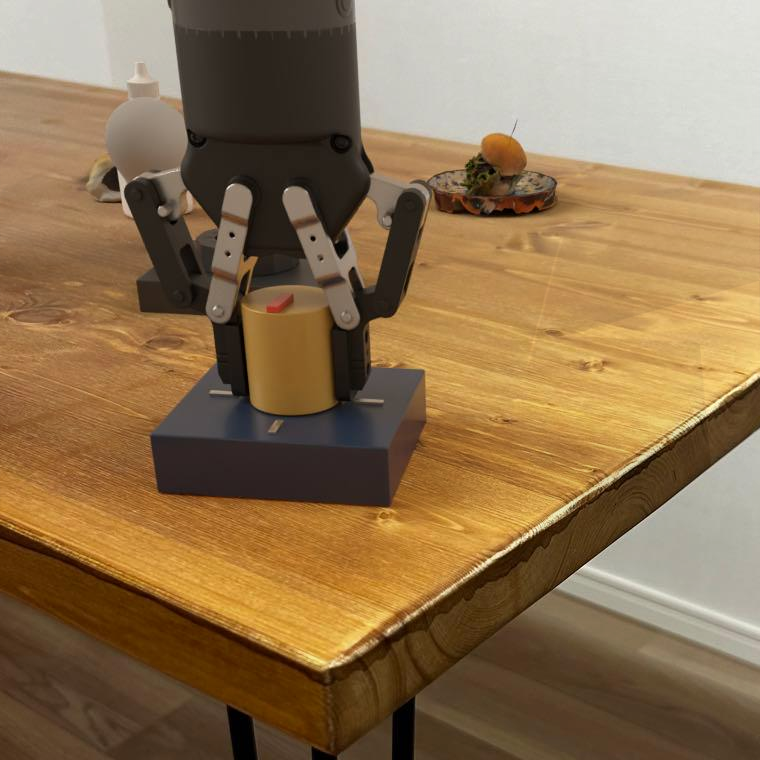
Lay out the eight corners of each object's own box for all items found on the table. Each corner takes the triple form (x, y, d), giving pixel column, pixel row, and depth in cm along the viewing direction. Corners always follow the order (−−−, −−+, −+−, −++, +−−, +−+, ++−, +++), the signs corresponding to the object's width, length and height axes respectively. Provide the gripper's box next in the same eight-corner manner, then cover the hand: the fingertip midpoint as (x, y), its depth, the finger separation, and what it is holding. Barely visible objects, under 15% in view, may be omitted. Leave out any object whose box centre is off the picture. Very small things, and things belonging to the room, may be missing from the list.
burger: (514, 181, 115) (515, 99, 111) (584, 208, 106) (587, 120, 102) (402, 194, 109) (400, 108, 105) (466, 223, 100) (465, 131, 97)
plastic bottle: (193, 219, 99) (175, 66, 93) (122, 221, 98) (99, 66, 92) (194, 207, 103) (177, 58, 97) (126, 209, 102) (105, 58, 96)
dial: (269, 378, 60) (259, 275, 58) (353, 385, 60) (347, 282, 57) (236, 411, 57) (224, 303, 54) (325, 419, 56) (318, 310, 53)
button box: (140, 312, 78) (131, 252, 76) (191, 269, 87) (185, 214, 85) (320, 322, 77) (316, 261, 75) (354, 277, 86) (351, 222, 84)
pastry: (113, 178, 111) (108, 136, 109) (187, 180, 112) (182, 138, 110) (84, 202, 103) (78, 157, 101) (164, 204, 104) (159, 159, 102)
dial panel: (157, 493, 56) (148, 430, 54) (224, 410, 64) (218, 354, 63) (390, 507, 55) (387, 445, 53) (426, 422, 64) (425, 366, 62)
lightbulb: (205, 236, 95) (188, 90, 89) (203, 258, 89) (185, 104, 84) (124, 239, 93) (103, 91, 88) (117, 261, 88) (94, 104, 83)
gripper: (447, 9, 53) (452, 372, 61) (131, -2, 53) (179, 359, 62) (419, 28, 46) (429, 432, 55) (59, 16, 47) (124, 416, 55)
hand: (296, 391), depth 58 cm, fingers closed on dial, 4 cm apart
